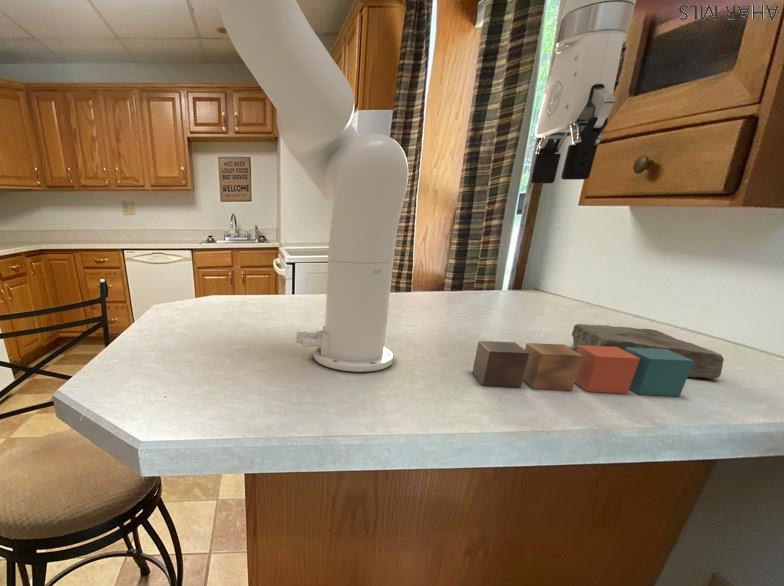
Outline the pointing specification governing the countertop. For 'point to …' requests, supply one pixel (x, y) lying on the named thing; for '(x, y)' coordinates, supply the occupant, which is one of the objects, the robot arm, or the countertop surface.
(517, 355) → the walnut block
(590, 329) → the grey stone slab
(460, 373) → the countertop surface
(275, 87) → the robot arm
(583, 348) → the terracotta block
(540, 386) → the oak block
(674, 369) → the teal block
